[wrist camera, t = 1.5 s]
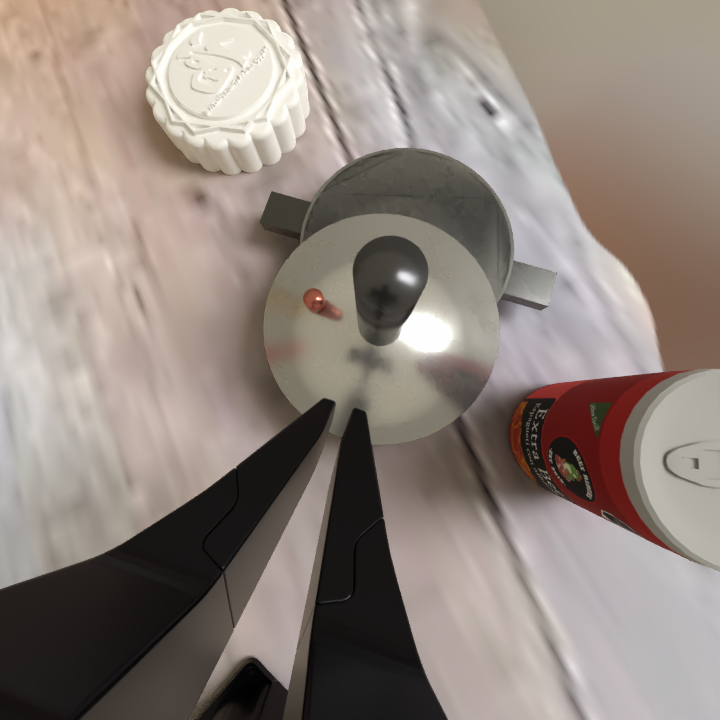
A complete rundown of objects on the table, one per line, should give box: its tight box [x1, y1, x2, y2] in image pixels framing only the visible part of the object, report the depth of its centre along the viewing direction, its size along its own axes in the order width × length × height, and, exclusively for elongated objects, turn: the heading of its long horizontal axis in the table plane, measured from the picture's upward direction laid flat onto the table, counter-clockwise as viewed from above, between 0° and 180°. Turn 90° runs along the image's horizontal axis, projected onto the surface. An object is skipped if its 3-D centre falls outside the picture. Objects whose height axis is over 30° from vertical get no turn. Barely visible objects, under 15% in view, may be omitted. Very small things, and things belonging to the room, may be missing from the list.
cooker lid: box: [263, 214, 500, 445], centre depth 16 cm, size 15×15×9 cm
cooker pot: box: [260, 148, 557, 310], centre depth 23 cm, size 14×20×3 cm
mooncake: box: [145, 8, 310, 175], centre depth 25 cm, size 12×12×4 cm
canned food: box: [509, 369, 720, 571], centre depth 17 cm, size 8×8×11 cm
